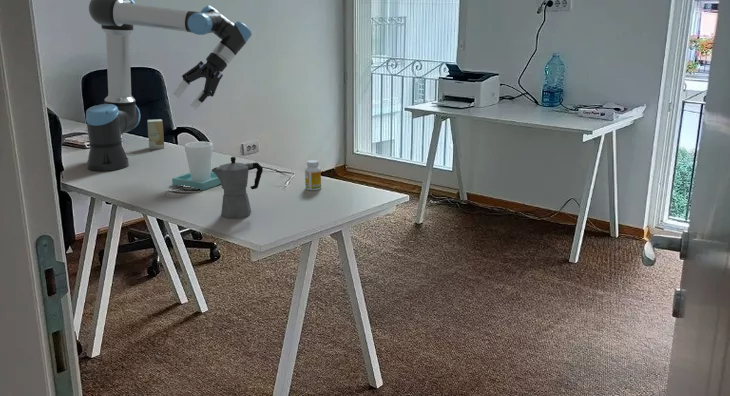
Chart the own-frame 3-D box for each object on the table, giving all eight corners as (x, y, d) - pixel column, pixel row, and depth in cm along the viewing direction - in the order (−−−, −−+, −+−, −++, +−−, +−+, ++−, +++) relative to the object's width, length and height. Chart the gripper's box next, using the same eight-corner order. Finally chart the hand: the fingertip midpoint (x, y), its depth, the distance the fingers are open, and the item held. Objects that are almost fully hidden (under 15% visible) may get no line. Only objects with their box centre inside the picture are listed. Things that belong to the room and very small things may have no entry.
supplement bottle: (323, 187, 238) (323, 160, 235) (317, 191, 233) (316, 163, 230) (309, 185, 240) (308, 158, 237) (303, 189, 235) (302, 162, 232)
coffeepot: (217, 221, 203) (213, 162, 198) (212, 212, 212) (208, 155, 206) (268, 215, 209) (265, 157, 203) (261, 206, 217) (258, 151, 212)
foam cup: (218, 177, 247) (215, 141, 243) (209, 184, 238) (207, 147, 234) (192, 176, 248) (190, 141, 244) (183, 183, 239) (180, 146, 235)
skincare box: (149, 149, 294) (147, 121, 290) (149, 147, 298) (146, 119, 294) (165, 148, 296) (162, 120, 292) (164, 146, 300) (161, 118, 296)
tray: (172, 185, 241) (171, 178, 240) (199, 175, 252) (199, 169, 252) (203, 190, 234) (202, 183, 233) (229, 180, 246) (229, 174, 245)
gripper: (243, 73, 252) (207, 118, 249) (209, 54, 268) (175, 96, 265) (231, 61, 246) (194, 106, 244) (197, 42, 262) (161, 85, 260)
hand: (184, 101), depth 255 cm, fingers open, 13 cm apart
